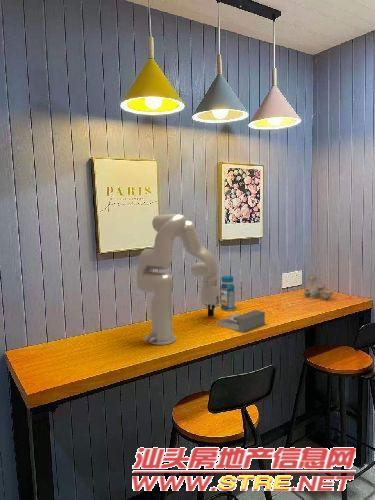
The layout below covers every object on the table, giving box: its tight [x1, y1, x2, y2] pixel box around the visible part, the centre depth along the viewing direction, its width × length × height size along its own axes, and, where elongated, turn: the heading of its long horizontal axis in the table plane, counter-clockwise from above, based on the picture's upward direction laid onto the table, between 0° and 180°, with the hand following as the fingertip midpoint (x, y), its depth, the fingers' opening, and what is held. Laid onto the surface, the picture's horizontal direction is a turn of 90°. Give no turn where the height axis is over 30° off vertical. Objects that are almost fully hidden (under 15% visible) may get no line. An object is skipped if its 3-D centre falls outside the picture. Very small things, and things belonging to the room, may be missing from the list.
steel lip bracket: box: [216, 309, 266, 333], centre depth 191 cm, size 18×18×6 cm
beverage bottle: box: [220, 275, 236, 312], centre depth 222 cm, size 8×8×20 cm
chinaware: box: [303, 272, 334, 301], centre depth 247 cm, size 28×17×17 cm, turn 1°
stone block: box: [221, 314, 240, 325], centre depth 195 cm, size 12×5×10 cm
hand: (210, 315), depth 206 cm, fingers closed
